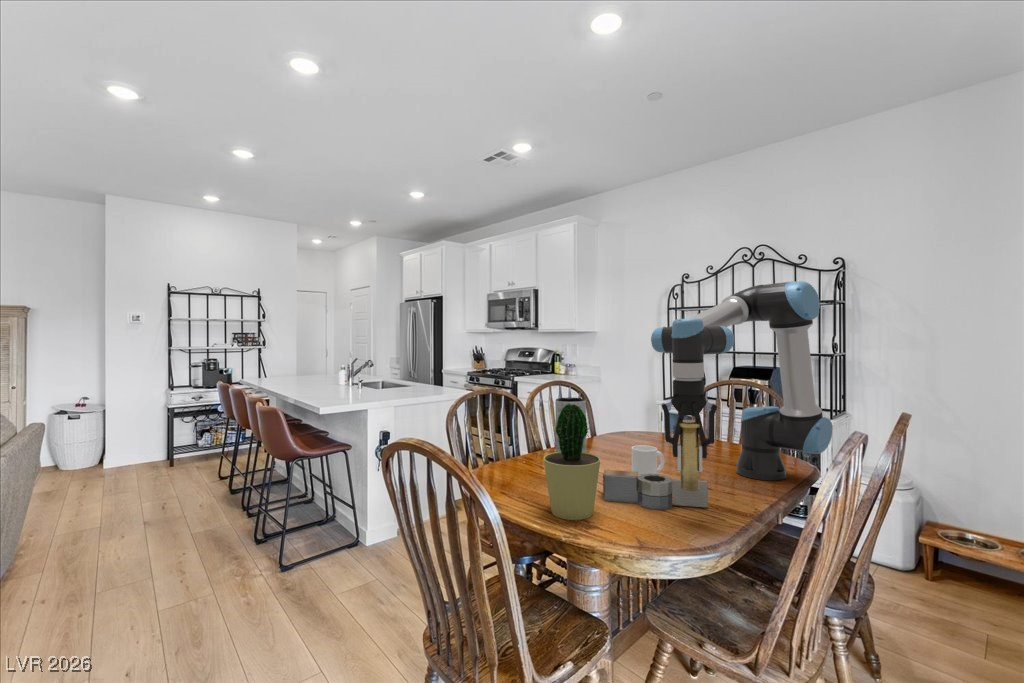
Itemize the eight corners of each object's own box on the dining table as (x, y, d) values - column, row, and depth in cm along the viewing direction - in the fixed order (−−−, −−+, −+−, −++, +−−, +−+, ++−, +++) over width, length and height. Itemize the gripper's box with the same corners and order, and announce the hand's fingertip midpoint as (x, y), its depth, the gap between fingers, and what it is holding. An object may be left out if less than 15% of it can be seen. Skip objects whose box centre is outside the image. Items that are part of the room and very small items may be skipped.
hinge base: (671, 499, 139) (670, 474, 139) (673, 510, 130) (673, 484, 130) (605, 494, 144) (605, 470, 144) (603, 505, 135) (603, 479, 135)
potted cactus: (531, 512, 130) (531, 402, 130) (567, 498, 141) (566, 397, 140) (577, 528, 119) (576, 408, 119) (612, 511, 130) (611, 401, 129)
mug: (656, 473, 166) (656, 443, 166) (671, 479, 158) (671, 448, 158) (626, 476, 162) (626, 446, 162) (640, 483, 154) (640, 451, 154)
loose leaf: (637, 506, 132) (637, 482, 132) (637, 495, 142) (637, 472, 141) (709, 512, 128) (709, 487, 128) (705, 500, 137) (705, 477, 137)
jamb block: (638, 495, 143) (638, 471, 142) (638, 501, 138) (638, 476, 138) (604, 493, 145) (604, 469, 145) (603, 498, 140) (603, 474, 140)
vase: (563, 475, 165) (563, 396, 164) (591, 479, 160) (590, 398, 159) (550, 482, 156) (550, 400, 156) (579, 487, 151) (578, 402, 151)
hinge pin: (700, 485, 124) (699, 420, 124) (704, 492, 119) (702, 424, 118) (676, 483, 126) (675, 419, 126) (678, 491, 120) (677, 424, 120)
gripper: (722, 377, 123) (723, 467, 124) (652, 377, 128) (653, 464, 128) (727, 380, 116) (729, 476, 116) (653, 380, 120) (654, 472, 121)
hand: (689, 469), depth 122 cm, fingers closed on hinge pin, 4 cm apart
